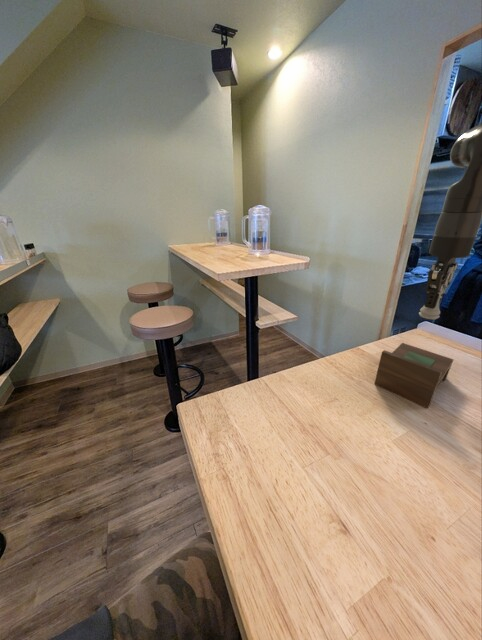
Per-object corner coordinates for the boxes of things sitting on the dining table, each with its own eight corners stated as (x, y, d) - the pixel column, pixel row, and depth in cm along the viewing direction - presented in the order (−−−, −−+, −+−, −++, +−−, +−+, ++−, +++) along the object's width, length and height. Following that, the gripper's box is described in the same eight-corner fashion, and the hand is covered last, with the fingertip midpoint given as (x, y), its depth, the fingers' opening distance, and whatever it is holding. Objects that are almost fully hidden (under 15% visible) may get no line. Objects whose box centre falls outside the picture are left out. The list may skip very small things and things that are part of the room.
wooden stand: (397, 359, 75) (405, 330, 71) (446, 378, 67) (458, 346, 63) (374, 384, 66) (381, 351, 62) (427, 408, 58) (440, 373, 54)
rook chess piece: (426, 311, 67) (435, 283, 64) (443, 318, 63) (453, 288, 60) (414, 314, 66) (422, 285, 63) (430, 321, 62) (440, 290, 59)
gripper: (468, 238, 49) (441, 318, 57) (483, 232, 58) (457, 302, 65) (424, 235, 55) (405, 308, 62) (443, 230, 63) (424, 295, 70)
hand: (432, 305), depth 63 cm, fingers closed on rook chess piece, 3 cm apart
